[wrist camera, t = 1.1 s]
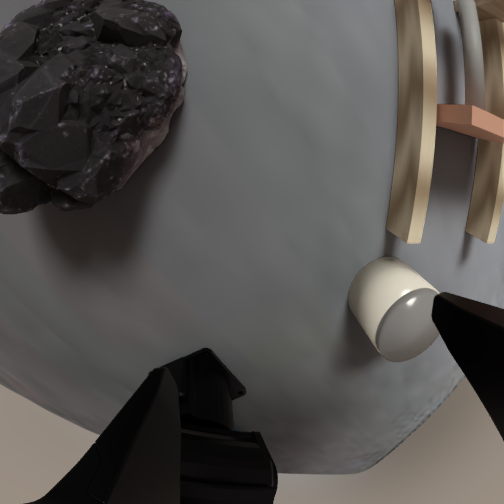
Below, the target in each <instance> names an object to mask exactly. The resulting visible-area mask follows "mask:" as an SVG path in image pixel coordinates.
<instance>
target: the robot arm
mask: <svg viewBox="0 0 504 504" xmlns="http://www.w3.org/2000/svg"><path fill="white" fill-rule="evenodd" d="M431 317H432V321H433V323H434V324H435V326H436V328H437V330H438V332H439V333H440V335H441V337H442V339H443V341H444V342H445V344H446V346H447V348H448V350H449V351H450V353H451V355H452V356H453V358H454V359H455V361H456V362H457V364H458V365H459V367H460V368H461V370H462V371H463V373H464V374H465V376H466V377H467V379H468V381H469V382H470V384H471V385H472V387H473V388H474V390H475V392H476V393H477V395H478V397H479V398H480V400H481V402H482V403H483V405H484V407H485V408H486V410H487V412H488V413H489V415H490V417H491V418H492V420H493V422H494V424H495V426H496V428H497V429H498V431H499V433H500V435H501V437H502V438H503V441H504V309H502V308H498V307H495V306H491V305H488V304H485V303H481V302H478V301H475V300H471V299H468V298H464V297H461V296H457V295H454V294H451V293H447V292H442V293H439V294H437V295H435V297H434V299H433V306H432V313H431ZM205 354H208V355H205ZM245 394H246V389H245V387H244V386H243V385H242V384H241V383H240V382H239V381H238V380H237V378H236V377H235V376H234V375H233V374H232V373H231V372H230V371H229V370H228V368H227V367H226V366H225V365H224V364H223V363H222V362H221V361H220V359H219V358H218V357H217V356H216V355H215V354H214V353H213V351H212V350H211V349H209V348H203V349H201V350H199V351H196V352H194V353H192V354H190V355H188V356H185V357H182V358H180V359H177V360H175V361H173V362H171V363H168V364H166V365H164V366H161V367H160V368H155V369H153V371H151V372H149V374H148V377H147V378H146V379H145V380H144V382H143V383H142V384H141V385H140V387H139V388H138V389H137V390H136V392H135V393H134V394H133V395H132V397H131V398H130V399H129V400H128V402H127V403H126V404H125V405H124V406H123V408H122V409H121V410H120V411H119V413H118V414H117V415H116V416H115V418H114V419H113V420H112V421H111V423H110V424H109V425H108V426H107V428H106V429H105V430H104V431H103V433H102V434H101V435H100V436H99V438H98V439H97V440H96V441H95V442H96V443H94V444H93V445H92V446H91V448H90V449H89V450H88V451H87V452H86V453H85V455H84V456H83V457H82V458H81V459H80V461H79V462H78V463H77V464H76V465H75V466H74V467H73V468H72V469H71V470H70V471H69V472H68V473H67V474H66V475H65V476H64V477H63V478H62V479H61V480H60V481H59V482H58V483H57V484H56V485H55V486H54V487H53V488H52V489H51V490H50V491H49V492H48V493H47V494H46V495H45V496H44V497H42V498H40V499H38V500H36V501H34V502H30V503H25V504H273V501H274V497H275V494H276V491H277V484H278V476H277V469H276V466H275V464H274V462H273V460H272V458H271V455H270V453H269V451H268V449H267V447H266V445H265V443H264V440H263V438H262V436H261V434H260V432H254V431H252V432H244V431H236V430H234V423H233V412H232V400H234V399H236V398H239V397H241V396H244V395H245Z"/></svg>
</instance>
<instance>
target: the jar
mask: <svg viewBox="0 0 504 504" xmlns="http://www.w3.org/2000/svg"><path fill="white" fill-rule="evenodd" d="M437 294H439V292H438V291H437V290H436V289H435V288H434V287H433V286H432V285H430V284H429V283H428V282H427V281H426V280H425V279H423V278H422V277H421V276H420V275H419V274H418V273H416V272H415V271H414V270H413V269H412V268H410V267H409V266H408V265H407V264H406V263H404V262H403V261H402V260H400V259H398V258H396V257H389V256H388V257H381V258H378V259H376V260H374V261H372V262H370V263H368V264H367V265H366V266H365V267H363V268H362V269H361V270H360V271H359V273H358V274H357V275H356V277H355V278H354V280H353V282H352V283H351V286H350V289H349V292H348V305H349V308H350V310H351V312H352V313H353V315H354V316H355V318H356V319H357V321H358V322H359V324H360V325H361V327H362V328H363V330H364V331H365V333H366V334H367V336H368V337H369V339H370V340H371V342H372V343H373V345H374V346H375V348H376V349H377V351H378V352H379V353H380V354H382V356H383V357H384V358H385V359H387V360H388V361H392V362H402V361H406V360H409V359H412V358H414V357H416V356H417V355H419V354H421V353H422V352H423V351H425V350H426V349H427V348H428V347H429V346H430V345H431V344H432V343H433V342H434V341H435V340H436V338H437V337H438V336H439V334H440V333H439V332H438V330H437V328H436V326H435V324H434V323H433V321H432V317H431V313H432V306H433V299H434V297H435V295H437Z"/></svg>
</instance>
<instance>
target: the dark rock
mask: <svg viewBox="0 0 504 504" xmlns="http://www.w3.org/2000/svg"><path fill="white" fill-rule="evenodd" d="M181 33H182V30H181V27H180V24H179V22H178V20H177V18H176V16H175V15H174V14H173V13H172V12H171V11H168V10H167V9H166V8H165V7H164V6H162V5H159V4H157V3H153V2H148V1H146V0H42V1H41V2H40V3H39V4H37V5H33V6H31V7H30V8H28V9H26V10H23V11H21V12H20V13H19V14H18V15H16V16H15V17H14V18H13V19H12V20H11V21H10V22H9V23H8V24H7V25H6V26H5V27H4V29H3V30H2V31H1V32H0V213H2V214H18V213H23V212H28V211H31V210H33V209H34V208H35V207H36V206H37V205H41V204H47V203H48V202H50V201H52V203H53V205H55V206H56V207H57V208H59V209H60V210H63V211H69V210H75V209H83V208H90V207H92V206H93V205H94V204H95V203H96V202H97V201H99V200H102V199H103V198H105V197H106V196H109V195H110V194H112V193H113V192H115V191H116V190H120V189H122V187H123V185H124V184H125V182H126V181H127V180H128V179H129V178H130V177H131V175H132V174H133V173H134V172H135V171H136V169H137V168H138V167H139V165H140V164H141V163H142V162H143V161H144V160H145V159H146V158H147V157H148V156H149V155H150V154H151V153H152V152H153V150H154V149H155V147H157V146H159V145H161V143H162V142H163V140H164V138H165V137H166V135H167V133H168V132H169V124H170V120H171V117H172V115H173V113H174V112H175V110H176V109H177V108H178V107H179V106H180V105H181V103H182V102H183V97H184V89H183V87H182V84H183V82H184V81H185V77H186V72H187V65H186V63H185V58H184V56H183V54H182V51H181V44H180V37H181Z"/></svg>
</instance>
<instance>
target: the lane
mask: <svg viewBox="0 0 504 504" xmlns="http://www.w3.org/2000/svg"><path fill="white" fill-rule="evenodd" d="M394 1H395V11H396V22H397V38H398V65H399V94H398V122H397V139H396V152H395V163H394V172H393V181H392V190H391V197H390V205H389V211H388V218H387V224H386V229H387V230H388V231H390V232H391V233H393V234H394V235H396V236H397V237H399V238H400V239H401V240H403V241H404V242H406V243H420V242H421V237H422V232H423V227H424V222H425V216H426V211H427V205H428V198H429V192H430V184H431V177H432V168H433V159H434V148H435V135H436V116H437V64H436V46H435V34H434V24H433V15H432V8H431V1H430V0H394ZM474 1H475V4H476V9H477V15H478V21H479V27H480V34H481V42H482V51H483V63H484V80H485V111H487V112H489V113H491V114H493V115H495V116H497V117H499V118H501V119H503V120H504V24H503V23H502V22H504V0H474ZM454 7H455V12H457V13H459V11H458V6H457V0H456V1H454ZM503 199H504V144H503V143H499V142H493V141H488V140H483V139H478V151H477V161H476V170H475V178H474V185H473V192H472V198H471V204H470V209H469V215H468V220H467V224H466V229H465V231H466V232H467V233H469V234H471V235H473V236H475V237H476V238H478V239H480V240H482V241H483V242H485V243H494V242H495V237H496V233H497V229H498V225H499V220H500V215H501V210H502V205H503Z"/></svg>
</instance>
